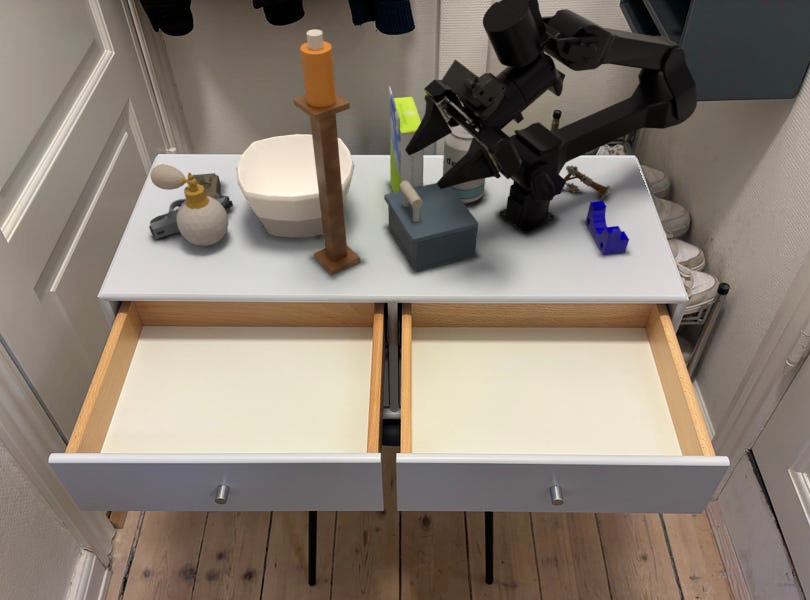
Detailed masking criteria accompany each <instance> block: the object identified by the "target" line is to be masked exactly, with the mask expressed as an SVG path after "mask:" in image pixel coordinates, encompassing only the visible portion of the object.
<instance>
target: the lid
mask: <svg viewBox="0 0 810 600" xmlns="http://www.w3.org/2000/svg"><path fill="white" fill-rule="evenodd" d="M400 189H401V191H399V192H395V193H393V192H391V193H386V194H384V195H383V196H384V201H385V203H386V204H387V206H388V205H389V207H390V209H391V210H392V212H393V213H394V215H395V216H396V218H397V220H398V221H399V223H400V224H401V226H402V227H403V229H404V231H405V232H406V234H407V235H408V237H409V238H410V240H411V242H412V243H413V244H414V243H418V242H422V241H426V240H430V239H434V238H438V237H442V236H446V235H450V234H454V233H458V232H462V231H466V230H470V229H474V228H478V229H479V222H478V220H477V219H476V218H475V217H474V215H473V214H472V212H470V210H469V208H468V207H467V206H466V204H463V202H462V201H461V200H460V198H459V197H458V196H457V194H456V193H455V192H454V191H453V189H452V188H451V187H447V188H443V189H440V188H439V186H438V185H437V182H435V183H430V184H426V185H423V186H421V187H417V188H413V187H412V186H411V184H410V183H409V181H403V182H401V183H400Z"/></svg>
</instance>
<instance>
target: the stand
mask: <svg viewBox="0 0 810 600" xmlns="http://www.w3.org/2000/svg"><path fill="white" fill-rule="evenodd" d="M293 105H294V107H296V108H298V110H300V111H302V112H303V113H304V114H305V115H307V116H309V121H310V128H311V129H310V130H311V135H312V139H313V148H314V156H315V165H316V174H317V182H318V191H319V200H320V209H321V217H322V226H323V234H322V235H323V243H324V248H321V249H319V250H317V251H315V252H313V259H315V260H316V261H317V263H318V264H319V265H321V266H322V267H323V269H325V270H326V271H327V272H328V274H330V275H331V276H334V275H337V274H339V273H340V272H343V271H345V270H347V269H349V268H351V267H353V266H355V265H357V264H360V263H361V256H359V255H358V254H357V253H356V252H355V251H354V250H353V249H352V248H351V247H349V246H348V244H347V232H346V219H345V209H344V204H343V195H342V183H341V172H340V160H339V148H338V138H339V137H338V136H339V135H338V125H337V114H338V113H341V112H344V111H347V110H350V109H351V104H350V101H348V100H347V99H345V98H344V97H342V96H341V95H340V94H338V93H336V101H335V103H334V104H332V105H331V106H328V107H322V108H318V107H312V106H310V105H309V104H308V103H307V102H306V94H304V95H301V96H297V97H294V98H293Z"/></svg>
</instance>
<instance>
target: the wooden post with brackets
mask: <svg viewBox="0 0 810 600" xmlns="http://www.w3.org/2000/svg"><path fill="white" fill-rule="evenodd" d="M565 170H566V171H567V174H566V175H565V177H563V179H564V180H566V184H565V186H566V187H567V188H568V191H571V192H572V193H573V194H575V193H580V188H579V186H578V185H576V184H574V182H572V183H570V182H569V183H568V181H572V180H574V179H577V180H579V182H580V183H582V184H584V185H586V186H587V187H589V188H592V189H593V190H594V191H595V192H596V193H598V194H599V195H600V199H601V201H604V199H605V198H606V197H607V195H608V194H609V193H610V191H611V185H609V184H608V185H607V186H605V185H602V184H600V183H598V182H595V181H594V179H593V178H591V177H589V176H588V175H587V174H585V173H584V174H583V173H581V172H580V171H579V169H578V166H577V165H576V166H573V164H571V165H566V166H565Z"/></svg>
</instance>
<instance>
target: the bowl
mask: <svg viewBox="0 0 810 600" xmlns="http://www.w3.org/2000/svg"><path fill="white" fill-rule="evenodd" d="M338 148H339V160H340V172H341V183H342V195H343V205H344V204H345V201H346V199H347V196H348V192H349V189H350V185H351V183H352V180H353V175H354V170H355V163H354V160H353V157H352V153H351V150H350V149H349V148H348V147H347V145H346V144H345V143H344V141H343V140H342V139H341V138H340V137H338ZM236 181H237V185H238V187H239V189H240V191H241V193H242V194H243V196H244V199H245V200H246V201H247V202H248V205H249V206H250V208H251V209H252V211H253V212H254V213H255V215H256V216H257V218H258V219H259V221H260V222H261V224H262V225H263V227H264V229H265V230H266V232H267V233H268V234H269V235H270V236H276V237H282V238H307V237H314V236H320V235H323V226H322V217H321V209H320V200H319V191H318V182H317V174H316V165H315V156H314V148H313V139H312V134H305V133H304V134H303V133H302V134H301V133H295V134H287V135H279V136H272V137H268V138H263V139H260V140H255V141H252V142H251V144H250V145H249V146H248V147H247V148H246V149H245V151H244V152H243V153H242V155H241V157H240V160H239V162H238V164H237V166H236Z"/></svg>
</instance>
